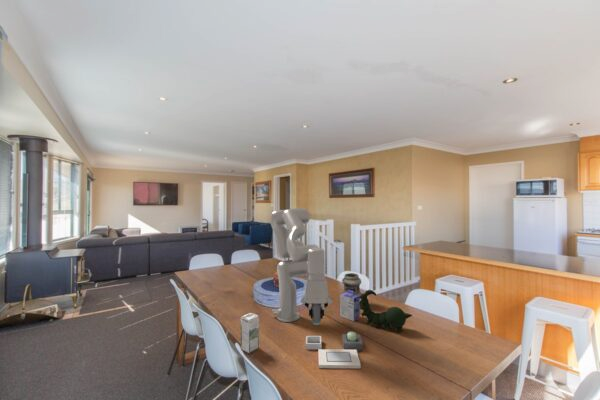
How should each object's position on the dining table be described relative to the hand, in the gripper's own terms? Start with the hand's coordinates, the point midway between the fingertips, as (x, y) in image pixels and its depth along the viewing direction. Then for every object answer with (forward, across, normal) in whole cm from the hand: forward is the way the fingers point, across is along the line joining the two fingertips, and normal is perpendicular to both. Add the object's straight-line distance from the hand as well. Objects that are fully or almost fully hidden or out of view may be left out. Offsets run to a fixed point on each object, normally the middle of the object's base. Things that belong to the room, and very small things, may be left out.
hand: (316, 316), depth 120 cm
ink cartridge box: (+14, +19, +29) cm, 38 cm away
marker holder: (+13, -1, 0) cm, 13 cm away
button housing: (+13, +16, 0) cm, 20 cm away
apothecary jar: (+14, +23, +49) cm, 56 cm away
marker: (+3, 0, 0) cm, 3 cm away
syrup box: (+14, -29, -2) cm, 33 cm away
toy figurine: (+13, +35, +17) cm, 41 cm away
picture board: (+13, +9, -10) cm, 19 cm away
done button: (+11, +16, 0) cm, 19 cm away
